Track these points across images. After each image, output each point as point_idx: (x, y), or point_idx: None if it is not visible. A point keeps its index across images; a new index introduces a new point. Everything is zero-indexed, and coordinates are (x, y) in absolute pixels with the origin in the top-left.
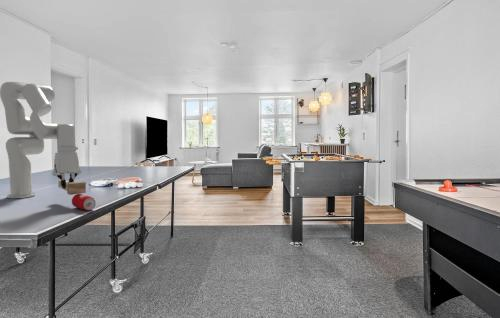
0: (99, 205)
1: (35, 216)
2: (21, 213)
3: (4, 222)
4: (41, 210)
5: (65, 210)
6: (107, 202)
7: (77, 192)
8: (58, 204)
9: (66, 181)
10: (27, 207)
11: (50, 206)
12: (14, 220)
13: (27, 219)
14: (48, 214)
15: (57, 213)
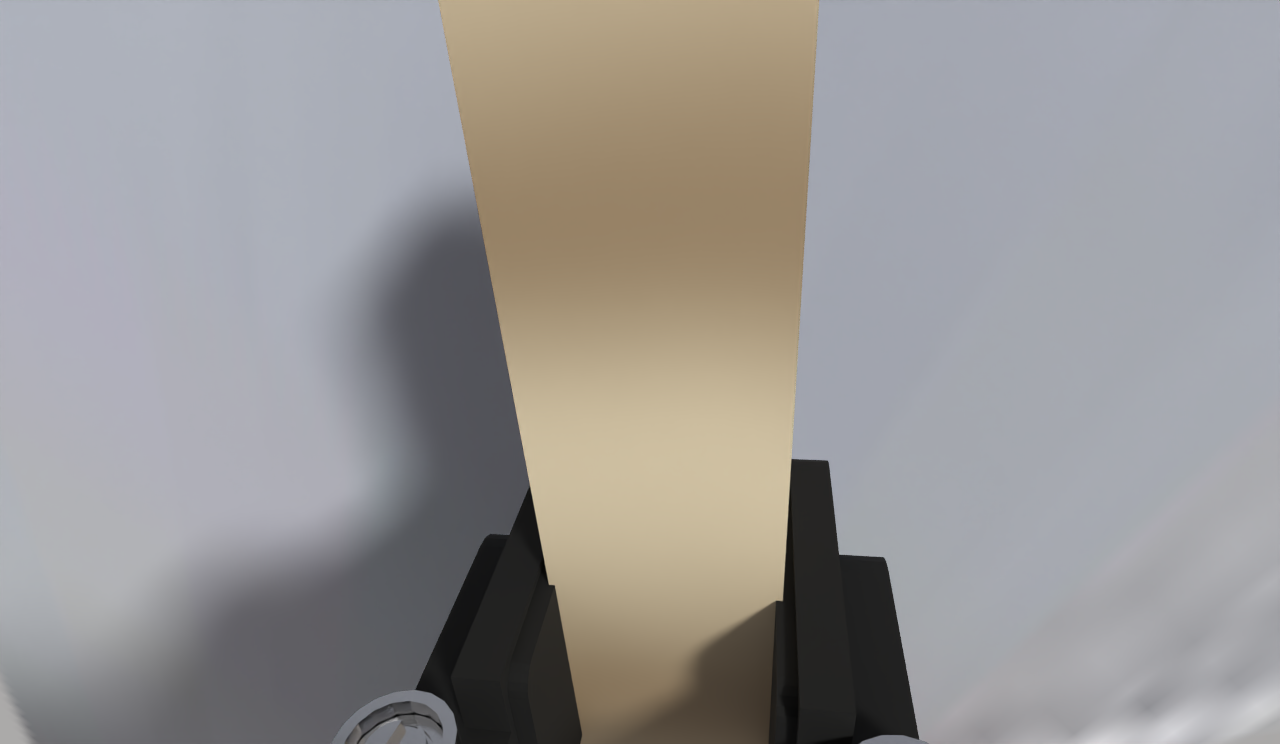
0: (973, 738)
1: (231, 696)
2: (66, 495)
3: (11, 701)
4: (277, 506)
5: None
6: (1209, 674)
7: None
8: None
9: (711, 515)
10: (52, 149)
11: (402, 344)
12: (74, 698)
13: (175, 736)
14: (345, 710)
15: None
